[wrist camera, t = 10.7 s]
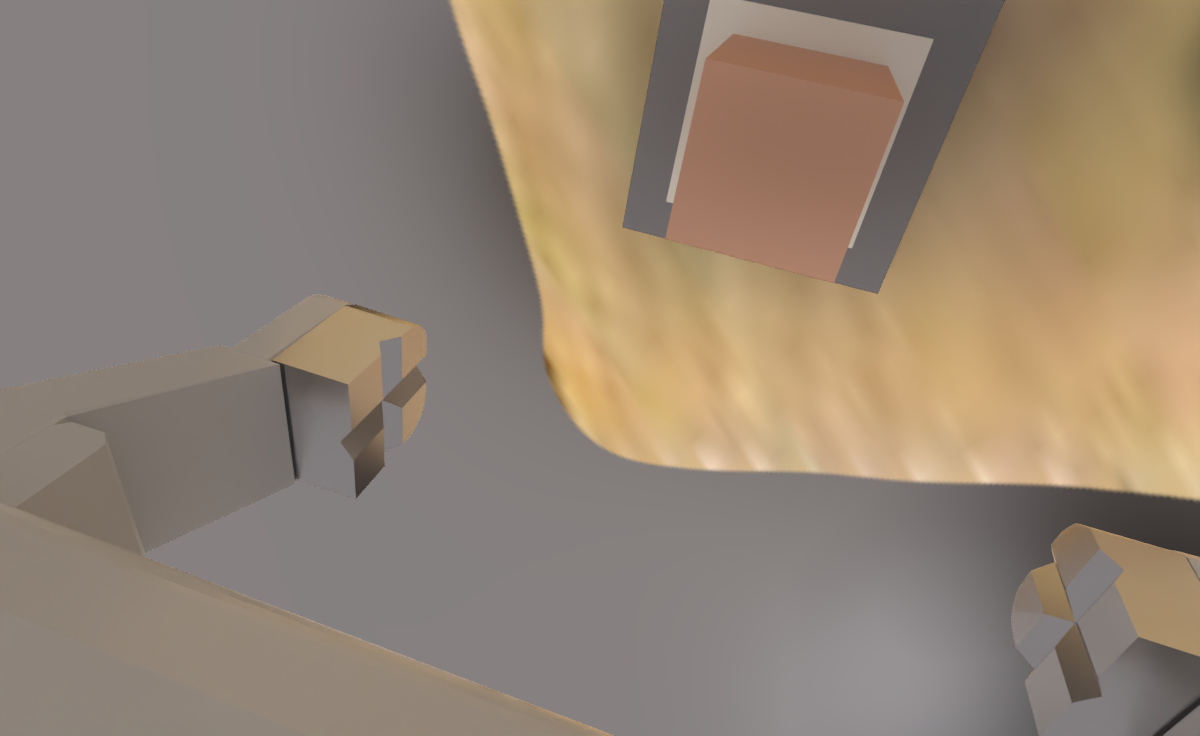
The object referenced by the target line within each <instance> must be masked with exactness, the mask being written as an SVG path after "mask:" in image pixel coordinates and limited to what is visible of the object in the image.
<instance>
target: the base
mask: <svg viewBox="0 0 1200 736" xmlns="http://www.w3.org/2000/svg"><path fill="white" fill-rule="evenodd" d="M1004 1H1005V0H664V4H663V10H662V15H661V21H660V26H659V31H658V37H657V42H656V48H655V53H654V59H653V64H652V69H651V75H650V80H649V86H648V91H647V97H646V102H645V107H644V113H643V118H642V124H641V129H640V135H639V140H638V145H637V151H636V156H635V162H634V167H633V173H632V178H631V183H630V189H629V194H628V200H627V205H626V211H625V216H624V221H623V227H624V228H628V229H631V230H635V231H639V232H643V233H647V234H650V235H654V236H658V237H662V238H665V237H666V233H667V228H668V224H669V219H670V215H671V211H672V206H673V202H674V197H675V193H676V188H677V184H678V179H679V175H680V170H681V166H682V161H683V157H684V152H685V148H686V144H687V139H688V135H689V130H690V126H691V121H692V117H693V112H694V108H695V103H696V99H697V94H698V90H699V85H700V81H701V77H702V72H703V68H704V63H705V59H706V58H707V57H708V56H709V55H710V54H711V53H712V52H713V51H714V50H716V49H717V48H718V47H719V46H720V45H721V44H722V43H723V42H724V41H726V40H727V39H728V38H729V37H730V36H731V35H732V34H733V33H734V34H738V35H743V36H748V37H752V38H757V39H762V40H767V41H771V42H776V43H781V44H785V45H790V46H795V47H800V48H804V49H809V50H814V51H819V52H823V53H828V54H833V55H837V56H842V57H847V58H852V59H856V60H861V61H866V62H870V63H875V64H880V65H885V66H888V67H889V69H890V71H891V74H892V76H893V78H894V80H895V82H896V85H897V87H898V89H899V91H900V93H901V96H902V98H903V100H904V104H903V107H902V109H901V112H900V114H899V117H898V120H897V122H896V125H895V127H894V130H893V132H892V135H891V138H890V140H889V143H888V145H887V148H886V150H885V153H884V156H883V158H882V161H881V163H880V166H879V168H878V171H877V174H876V176H875V179H874V181H873V184H872V186H871V189H870V192H869V194H868V197H867V199H866V202H865V205H864V207H863V210H862V212H861V215H860V217H859V220H858V223H857V225H856V228H855V230H854V233H853V235H852V238H851V241H850V243H849V246H848V248H847V251H846V253H845V256H844V259H843V261H842V264H841V266H840V269H839V271H838V274H837V277H836V279H835V282H834V283H838V284H842V285H846V286H849V287H853V288H857V289H861V290H865V291H868V292H872V293H876V294H878V292H879V290H880V287H881V285H882V283H883V280H884V278H885V276H886V273H887V271H888V269H889V266H890V264H891V262H892V259H893V257H894V255H895V253H896V250H897V248H898V246H899V243H900V241H901V239H902V236H903V234H904V232H905V229H906V227H907V225H908V223H909V220H910V218H911V216H912V213H913V211H914V209H915V206H916V204H917V202H918V199H919V197H920V195H921V192H922V190H923V188H924V186H925V183H926V181H927V179H928V176H929V174H930V172H931V169H932V167H933V165H934V162H935V160H936V158H937V156H938V153H939V151H940V149H941V146H942V144H943V142H944V139H945V137H946V135H947V132H948V130H949V128H950V125H951V123H952V121H953V119H954V116H955V114H956V112H957V109H958V107H959V105H960V102H961V100H962V98H963V95H964V93H965V91H966V89H967V86H968V84H969V82H970V79H971V77H972V75H973V72H974V70H975V68H976V65H977V63H978V61H979V58H980V56H981V54H982V52H983V49H984V47H985V45H986V42H987V40H988V38H989V35H990V33H991V31H992V28H993V26H994V24H995V22H996V19H997V17H998V15H999V12H1000V10H1001V8H1002V5H1003V3H1004Z"/></svg>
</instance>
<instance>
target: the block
mask: <svg viewBox="0 0 1200 736" xmlns="http://www.w3.org/2000/svg"><path fill="white" fill-rule="evenodd" d="M903 104H904V100H903V98H902V96H901V93H900V91H899V89H898V87H897V85H896V82H895V80H894V78H893V76H892V74H891V71H890V69H889V67H888V66H885V65H880V64H875V63H870V62H866V61H861V60H856V59H852V58H847V57H842V56H837V55H833V54H828V53H823V52H819V51H814V50H809V49H804V48H800V47H795V46H790V45H785V44H781V43H776V42H771V41H767V40H762V39H757V38H752V37H748V36H743V35H738V34H734V33H733V34H732V35H731V36H730V37H729V38H728V39H727V40H726V41H724V42H723V43H722V44H721V45H720V46H719V47H718V48H717V49H716V50H714V51H713V52H712V53H711V54H710V55H709V56H708V57H707V58H706V59H705V63H704V68H703V72H702V77H701V81H700V85H699V90H698V94H697V99H696V103H695V108H694V112H693V117H692V121H691V126H690V130H689V135H688V139H687V144H686V148H685V152H684V157H683V161H682V166H681V170H680V175H679V179H678V184H677V188H676V193H675V197H674V202H673V206H672V211H671V215H670V219H669V224H668V228H667V233H666V237H665V239H667V240H671V241H675V242H679V243H683V244H686V245H690V246H694V247H698V248H702V249H706V250H709V251H713V252H717V253H721V254H725V255H728V256H732V257H736V258H740V259H744V260H748V261H751V262H755V263H759V264H763V265H767V266H770V267H774V268H778V269H782V270H786V271H790V272H793V273H797V274H801V275H805V276H809V277H813V278H816V279H820V280H824V281H828V282H832V283H834V282H835V279H836V277H837V274H838V271H839V269H840V266H841V264H842V261H843V259H844V256H845V253H846V251H847V248H848V246H849V243H850V241H851V238H852V235H853V233H854V230H855V228H856V225H857V223H858V220H859V217H860V215H861V212H862V210H863V207H864V205H865V202H866V199H867V197H868V194H869V192H870V189H871V186H872V184H873V181H874V179H875V176H876V174H877V171H878V168H879V166H880V163H881V161H882V158H883V156H884V153H885V150H886V148H887V145H888V143H889V140H890V138H891V135H892V132H893V130H894V127H895V125H896V122H897V120H898V117H899V114H900V112H901V109H902V107H903Z"/></svg>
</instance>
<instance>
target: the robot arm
mask: <svg viewBox="0 0 1200 736" xmlns="http://www.w3.org/2000/svg"><path fill="white" fill-rule="evenodd" d="M426 347H427V346H426V332H425V331H424V330H423V328H422V327H421V326H420V325H417V324H414V323H411V322H408V321H405V320H402V319H399V318H396V317H392V316H389V315H386V314H383V313H380V312H377V311H373V310H370V309H368V308H364V307H362V306H358V305H353V304H351V303H349V302H346V301H342V300H339V299H336V298H332V297H329V296H325V295H310V296H309V297H307V298H306V299H304V300H303V301H301V302H300V303H299V304H297V305H295V306H294V307H293V308H291V309H289V310H288V311H286V312H285V313H284V314H282V315H280V316H279V317H277V318H276V319H274V320H273V321H271V322H270V323H268V324H267V325H265V326H264V327H262V328H261V329H259V330H258V331H256V332H255V333H253V334H252V335H250V336H249V337H247V338H246V339H244V340H243V341H242V342H240V343H238V344H237V345H235V346H234V347H232V348H228V347H224V346H221V345H219V346H213V347H208V348H204V349H198V350H193V351H188V352H184V353H178V354H173V355H168V356H163V357H159V358H154V359H149V360H144V361H138V362H133V363H128V364H124V365H118V366H113V367H109V368H104V369H98V370H93V371H88V372H83V373H78V374H74V375H68V376H64V377H59V378H54V379H49V380H44V381H39V382H34V383H29V384H24V385H19V386H14V387H9V388H4V389H0V736H614V735H611V734H609V733H606V732H603V731H601V730H598V729H595V728H593V727H590V726H587V725H585V724H582V723H580V722H577V721H574V720H572V719H569V718H567V717H564V716H561V715H559V714H556V713H554V712H551V711H548V710H546V709H543V708H540V707H538V706H535V705H532V704H530V703H527V702H525V701H522V700H519V699H517V698H514V697H512V696H509V695H506V694H504V693H501V692H498V691H496V690H493V689H490V688H488V687H485V686H482V685H480V684H477V683H475V682H472V681H470V680H467V679H464V678H462V677H459V676H456V675H454V674H451V673H448V672H446V671H443V670H441V669H438V668H435V667H433V666H430V665H428V664H425V663H422V662H420V661H417V660H414V659H412V658H409V657H407V656H404V655H401V654H399V653H396V652H393V651H391V650H388V649H385V648H383V647H380V646H378V645H375V644H372V643H370V642H367V641H365V640H362V639H359V638H357V637H354V636H351V635H349V634H346V633H343V632H341V631H338V630H336V629H333V628H330V627H328V626H325V625H322V624H320V623H317V622H314V621H312V620H309V619H307V618H304V617H301V616H298V615H296V614H293V613H291V612H288V611H285V610H283V609H280V608H278V607H275V606H272V605H270V604H267V603H264V602H262V601H259V600H257V599H254V598H251V597H249V596H246V595H243V594H241V593H238V592H236V591H233V590H230V589H228V588H225V587H222V586H220V585H217V584H215V583H212V582H209V581H207V580H204V579H201V578H199V577H196V576H193V575H191V574H188V573H186V572H183V571H181V570H178V569H175V568H172V567H170V566H167V565H164V564H162V563H160V562H157V561H154V560H152V559H149V558H147V556H146V554H145V553H146V552H148V551H150V550H152V549H154V548H156V547H158V546H161V545H163V544H165V543H167V542H169V541H172V540H174V539H176V538H178V537H180V536H182V535H185V534H187V533H189V532H191V531H193V530H196V529H198V528H200V527H202V526H204V525H206V524H209V523H211V522H213V521H215V520H217V519H219V518H222V517H223V516H226V515H228V514H230V513H232V512H235V511H237V510H239V509H241V508H243V507H246V506H248V505H250V504H252V503H254V502H256V501H258V500H261V499H263V498H265V497H267V496H269V495H271V494H274V493H276V492H278V491H280V490H282V489H285V488H287V487H289V486H291V485H293V484H295V480H297V481H300V482H303V483H306V484H310V485H313V486H316V487H319V488H322V489H325V490H329V491H332V492H335V493H338V494H341V495H345V496H347V497H351V498H354V499H356V498H357V497H358V496H359V495H360V494H361V493H362V491H363V490H364V489H365V488H366V487H367V486H368V485H369V484H370V482H371V481H372V480H373V479H374V478H375V477H376V475H377V474H378V473H379V472H380V471H381V470H382V469H383V467H384V466H385V465H384V464H385V463H384V452H385V451H387V450H390V449H393V448H396V447H399V446H401V445H403V444H404V443H405V441H406V440H407V439H408V438H409V436H410V435H411V434H412V433H413V432H414V430H415V428H416V425H417V423H418V421H419V419H420V417H421V415H422V412H423V408H424V403H425V398H426V380H425V378H424V377H423V375H422V374H421V372H420V370H419V369H418V367H417V364H418V363H419V362H420V361H421V360H422V359H423V358H424V357H425V356H426V354H427V350H426V349H427V348H426ZM1051 548H1052V553H1053V557H1054V561H1055V562H1054V563H1051V564H1048V565H1046V566H1043V567H1040V568H1037V569H1034V570H1032V571H1030V573H1029V574H1028V576H1027V577H1026V579H1025V580H1024V581H1023V583H1022V584H1021V586H1020V587H1019V588H1018V590H1017V593H1016V597H1015V601H1014V604H1013V608H1012V633H1013V637H1014V641H1015V645H1016V648H1017V649H1018V650H1019V652H1020V653H1021V654H1022V655H1023V656H1024V657H1025V659H1026V660H1027V661H1028V662H1029V663H1030V665H1031V666H1032V667H1033V668H1034V670H1033V672H1032V673H1031V674H1030V675H1029V677H1028V678H1027V679H1026V681H1025V685H1026V688H1027V692H1028V695H1029V699H1030V703H1031V707H1032V711H1033V715H1034V718H1035V722H1036V726H1037V730H1038V733H1039V736H1200V557H1197V556H1193V555H1190V554H1186V553H1182V552H1178V551H1175V550H1171V551H1170V550H1167V549H1163V548H1160V547H1156V546H1153V545H1150V544H1146V543H1143V542H1139V541H1136V540H1132V539H1129V538H1125V537H1122V536H1119V535H1115V534H1112V533H1108V532H1105V531H1101V530H1098V529H1094V528H1091V527H1088V526H1084V525H1080V524H1077V523H1076V524H1073V525H1072V526H1070V527H1069V528H1067V529H1065V530H1063V531H1062V532H1061V534H1060V535H1059V536H1058V537H1057V538H1056V540H1055V541H1054V542H1053V543H1052V545H1051Z"/></svg>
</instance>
